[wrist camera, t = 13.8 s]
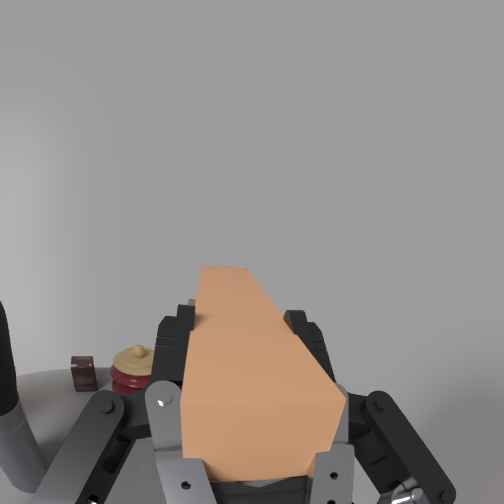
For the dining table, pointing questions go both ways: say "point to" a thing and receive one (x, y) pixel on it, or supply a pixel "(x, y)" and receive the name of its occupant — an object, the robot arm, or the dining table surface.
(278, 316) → the terracotta bar
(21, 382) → the dining table surface
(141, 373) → the canister
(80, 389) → the box
